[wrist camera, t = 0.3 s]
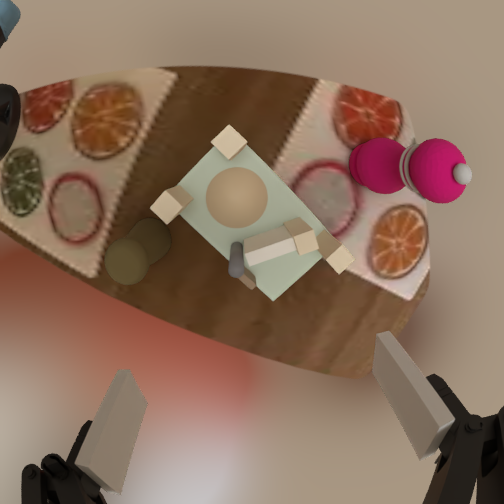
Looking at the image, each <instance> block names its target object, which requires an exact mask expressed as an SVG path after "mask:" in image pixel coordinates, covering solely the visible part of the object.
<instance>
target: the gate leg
mask: <svg viewBox="0 0 504 504" xmlns="http://www.w3.org/2000/svg"><path fill="white" fill-rule="evenodd" d="M283 223H284V225H283V226H280V227H277V228H274V229H272V230H269V231H266V232H263V233H260V234H257V235H255V236H252V237H249V238H246V239H244V252H245V256H246V259H247V262H248V264H249V267H250V266H252V265H255V264H258V263H261V262H264V261H267V260H270V259H272V258H275V257H278V256H281V255H284V254H287V253H290V252H292V251H295V250H296V251H297V253H298V254H299V256H300V255H303V254H306V253H309V252H312V251H314V250H317V249H319V247H318V243H317V240H316V236H315V233H314V230H313V229H312V228H311V227H310V226H309V225H308V224H307V223H306V222H305V221H303V220H302V219H301V218H300V217H298V218H295V219H292V220H289V221H286V222H283Z"/></svg>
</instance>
